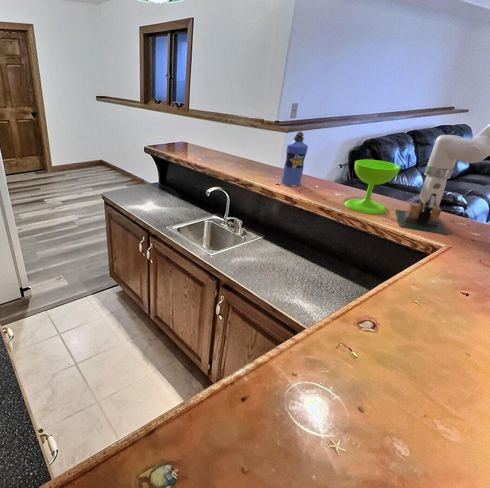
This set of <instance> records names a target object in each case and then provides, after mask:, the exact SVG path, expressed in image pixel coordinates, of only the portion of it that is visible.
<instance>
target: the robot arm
mask: <svg viewBox="0 0 490 488" xmlns="http://www.w3.org/2000/svg"><path fill="white" fill-rule="evenodd" d="M489 156H490V123H489V124H487V125H486V126H485V127H484V128H483V129H482V130H480V131H479V133H477V134H476V135H475V136H474V137H473V138H464V137H463V136H460V135H455V134H441V135H438V136H437V138H436V140H435V142H434V145H433V148H432V151H431V153H430V156H429V159H428V162H427V164H426V168H425V170H424V173H423V175H424V176H426V177H425V179H424V182H423V184H422V186H421V191H419V192H420V193H419V199H420V200H419V202H418V203H420V204H424V205H423V208H422V212H421V211H420V214H419V217H418V220H417V222H420V223H428V221H429V218H430V215H431V213H432V209H433V207H434V205H435V206H439V207H440V204H441V201H442V198H443V195H444V192H445V189H446V185H447V182H448V181H447V180H448V179H450V178H451V176H452V174H453V171H454V168H455V166H456V163H457V161H460V162H464V163H469V164H474V163H476V164H477V163H480V162H481V161H483V160H485V159H486V158H488V157H489ZM426 206H428V207H426ZM425 207H426V208H425Z"/></svg>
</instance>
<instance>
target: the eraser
mask: <svg viewBox="0 0 490 488" xmlns="http://www.w3.org/2000/svg"><path fill="white" fill-rule="evenodd" d="M423 205H424V204H420V203H419V202H411V201H410V203H409V205H408V208H407V210H406V211H407V213H405V214H404V218H405V221H408V222H415V223H420V222H417V220H418V217H419V214H420V211H421V212H422V208H423ZM426 207H428V206H426ZM426 207H425V208H426ZM441 213H442V208H441V207H440V205H439V206H436V205H435V204H434V207H433V209H432V213H431V215H430V218H429V221H428V223H421V224H428V225H434V226H438V223H439V222H438V218H439V217H440V215H441ZM439 219H440V218H439Z"/></svg>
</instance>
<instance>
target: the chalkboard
mask: <svg viewBox="0 0 490 488" xmlns="http://www.w3.org/2000/svg"><path fill="white" fill-rule="evenodd" d="M407 211H408V210H402V209H395V215H396V219H397V223H398V226H399V228H401V229H408V230H413V231H417V232H419V231H420V232H425V233H432V234H437V235H442V236H443V235H444V236H449V234H448V232H447V230H446V228H445V227H444V225H443V223H442V221H441V220H440V218H438V222H439V223H438V226H434V225H428V224H421V223H415V222H408V221H405V218H404V214H405V213H407Z"/></svg>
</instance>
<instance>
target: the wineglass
mask: <svg viewBox="0 0 490 488" xmlns="http://www.w3.org/2000/svg"><path fill="white" fill-rule="evenodd" d="M401 168H402V167H401V166H400V165H399V164H398V163H397V164H396V163H394V162H389V161H385V160H377V159H358V160H355V161H354V172H355V174H356V176H357V178H358V179H359V180H360V181H361V182H363V183H365V184H367V185H368V186H367V190H366V193H365V197H364V198H351V199H348V200H346V201H345V202H344V204H345V205H344V204H343V205H344V206H345V208H347V207H348V208H347V209H349V210H351V211H354V212H358V213H362V214H369V215H383V214H386V213H387V211H388V210H387V207H386V206H385V205H383V204H382V203H380V202H377V201H374V200H371V197H372V194H373V190H374V187H375V186H377V185H378V186H379V185H383V184H386V183H388V182H390V181H392V180H393V179H395V177H396V176H397V175H398V174H399V173H400V170H401Z"/></svg>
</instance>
